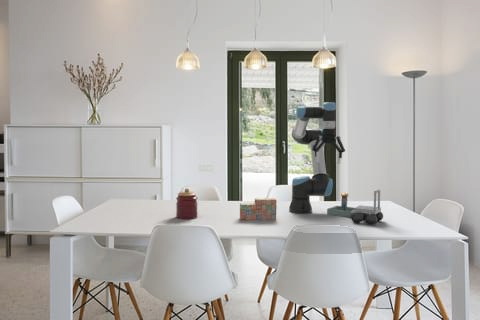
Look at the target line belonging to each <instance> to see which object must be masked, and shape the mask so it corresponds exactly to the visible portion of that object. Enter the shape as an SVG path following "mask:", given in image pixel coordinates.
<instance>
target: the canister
mask: <svg viewBox="0 0 480 320" xmlns="http://www.w3.org/2000/svg"><path fill="white" fill-rule="evenodd" d="M197 200H198V197H197V193H195V191H190V189H189V188H187V187H186V188H185V189H184V191H180V192H178V193H177V197H176V203H175V204H176V207H175V209H176V211H175V212H176V213H175V215H176V218H177V219H180V220H181V219H182V220H189V219H191V220H192V219H196V218H198V201H197Z"/></svg>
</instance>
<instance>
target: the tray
mask: <svg viewBox="0 0 480 320" xmlns="http://www.w3.org/2000/svg"><path fill="white" fill-rule="evenodd" d="M354 208H355V207H352V206H347V211H344V210H341V205H334V206H332V207H329V208H327V209H326V210H327V211H326V214H327V215H331V216H339V217H346V218H350V213H351V212H354Z"/></svg>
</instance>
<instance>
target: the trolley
mask: <svg viewBox="0 0 480 320" xmlns="http://www.w3.org/2000/svg"><path fill="white" fill-rule="evenodd" d="M381 210H382V207H381V189H377V190H374V192H373V206H371V205H370V206H369V205H361V204H360V205H358V206H356V207H354V212H356V213H354V214H352V216H351V218H350V219H351V221H352V222H353V223H355V224H360V223H361V222H363V220H365V223H366V224H367V225H369V226H374V225H375V224H377V222H380V221H382V220H383V219H384V214H383V212H382V211H381Z"/></svg>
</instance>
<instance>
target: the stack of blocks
mask: <svg viewBox="0 0 480 320" xmlns="http://www.w3.org/2000/svg"><path fill="white" fill-rule="evenodd" d="M239 219H240V221H269V220H270V221H276V220H277V199H276V198H274V197H271V198H270V197H260V198H259V197H257V198H254V202H253V203H252V202H243V203H242V202H240V203H239Z"/></svg>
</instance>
